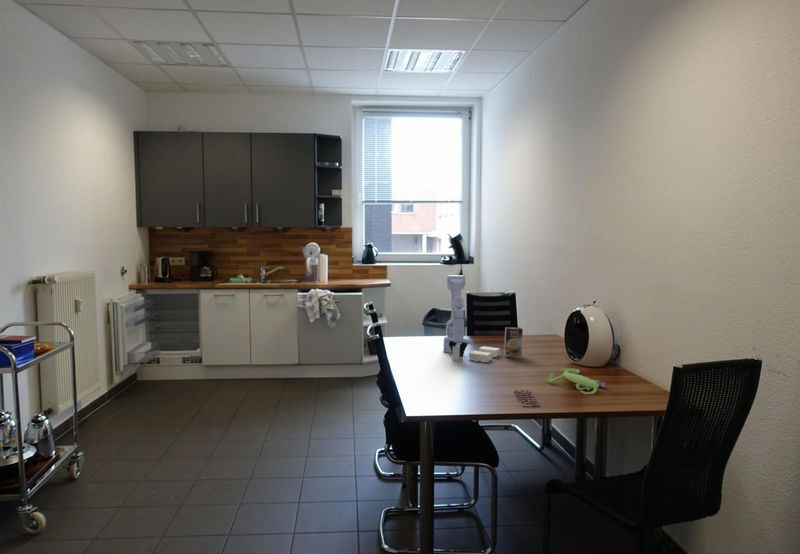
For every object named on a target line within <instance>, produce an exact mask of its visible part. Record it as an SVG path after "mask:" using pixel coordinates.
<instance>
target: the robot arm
mask: <svg viewBox="0 0 800 554" xmlns="http://www.w3.org/2000/svg"><path fill="white" fill-rule="evenodd" d="M446 283H447V284H446V287H447V290H448V291H450V294H451V296H450V297H451V298H450V299H451V305H450V306H451V310H450V311H451V318H450V319H449V320H448V321H447V322H446V323H445V324H446V326H445V336H444V337H443V350H442V352H443V353H448V354H449V353H450V354H451V355H452V356H453V346H454V345H460V350H461V352H460V356H461V357H463V358H464V354H465V351H466V349H467V347H468V345H472V343H473V341H472V339H466V338H464V337H465V319H466V308H465V305H464V304H465V303H464V299H463V297H462V291H463V290H464V288H465V286H466V276H465V275H464V274H463V275H462V274H461V275H457V274H455V275H454V274H453V275H451V274H448V275H447V276H446Z"/></svg>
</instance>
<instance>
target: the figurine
mask: <svg viewBox="0 0 800 554" xmlns="http://www.w3.org/2000/svg"><path fill="white" fill-rule="evenodd" d="M561 372H563V373H562V374H561V375H559V376H557V377H554V376H555V374H554V373H553V372H552V373H550V374H549V375H548V376H547V378H546V381H545V383H550V384H551V383H554V382H556V381H559V380H561V379H563V378H565V379H567V380H568V381H569V382H570V381H571V382H573V383H574V385H575V387H576V389H577V390H579V392H580V393H581V394H582V393H583V394H582V395H587V394H590V395H591V394H592V395H594V394H596V392H597V391H598V388H602V389H604V388H605V386H606V382H604V381H602V380H598V379H597V380H596V379H591V378H589V377H587V376H584V375H581V374H580V372H581V371H580V370H579V369H576V368H561ZM553 377H554V378H553ZM580 386H583V387H582V388H581V387H580ZM590 389H593V390H592V391H590ZM583 390H587V391H589V392H586V391H583Z"/></svg>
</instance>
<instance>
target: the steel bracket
mask: <svg viewBox="0 0 800 554" xmlns="http://www.w3.org/2000/svg"><path fill="white" fill-rule="evenodd" d="M460 352H461V350H460V345H454V346H453V355H452V360H451V361H452V362H455V361H458V362H457V363H460V361H461V362H463V361H464V356H463V357H461V356H460Z"/></svg>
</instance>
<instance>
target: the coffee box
mask: <svg viewBox="0 0 800 554" xmlns="http://www.w3.org/2000/svg"><path fill="white" fill-rule="evenodd" d="M504 328H505V329H504V343H503V344H504V346H503V348H504V349H503V356H504V358H506V357H514V358H513V359H522V353H523V352H522V351H523V331H524V330H523V329H524V328H522V327H514V326H512V327H511V326H505V327H504Z"/></svg>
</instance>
